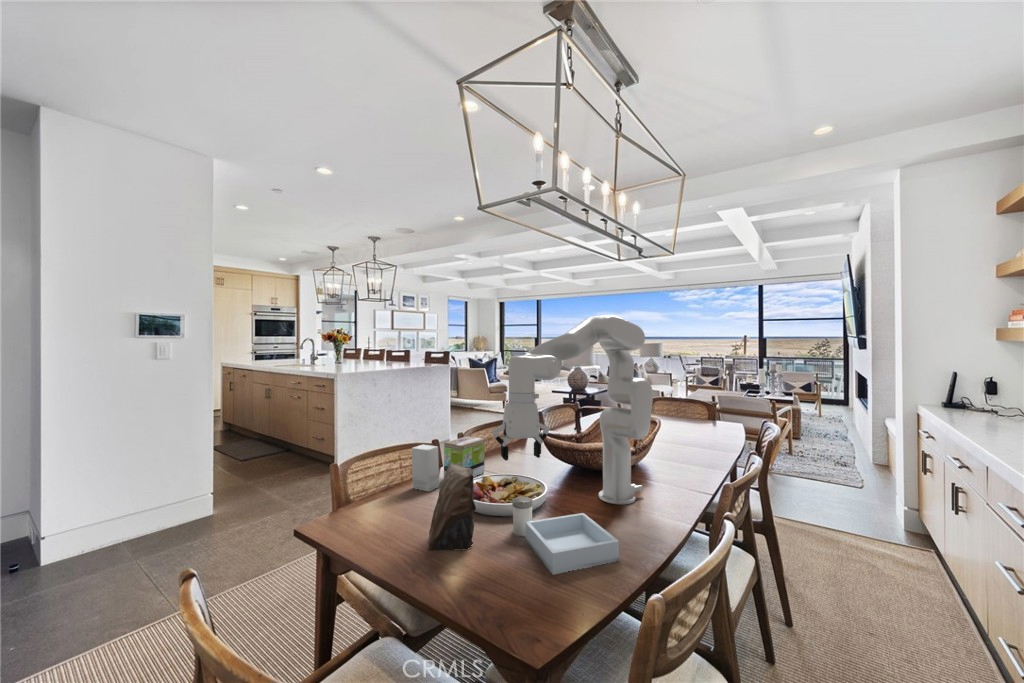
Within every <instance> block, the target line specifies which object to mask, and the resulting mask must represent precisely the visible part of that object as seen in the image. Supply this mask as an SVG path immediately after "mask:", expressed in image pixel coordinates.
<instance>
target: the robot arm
mask: <svg viewBox="0 0 1024 683" xmlns="http://www.w3.org/2000/svg"><path fill="white" fill-rule="evenodd" d="M645 342H646V335H645V332H644V330H643V329H642V328H641V327H640V326H639V325H638V324H636V323H633V322H631V321H629V320H626V319H624V318H623V317H620V316H617V315H614V314H605V315H593V316H589V317H587V318H586V319H583V321H581V322H580V323H578V324H576V325H575V326H574V327H573V328H571V329H570V330H568V331H567V332H565V333H564V334H561V335H559V336H556V337H554V338H552V339H549V340H547V341H545V342H542V343H540V344H538V345H536V346H535V347H533V348H532V349H530V350H529V351H527V352H526V353H525V354H524V355H511V356H510V358H509V359H508V402H505V405H504V410H503V417H502V424H500V425H498V426H497V427H496V428H494V429H492V431H491V432H492V435H493V437H494V439H495V441H497V442H498V444H500V456H501V458H502V459H503V460H504V461H508V460H509V446H508V444H509V442H511V440H523V439H534V442H533V456H535V458H538V459H539V458H541V454H542V444H543V442H544V440H545V439H546V438H547V436H548V434H549V432H550V431H551V429H550V427H549V426H547V425H546V424H544V423H542V422H540V416H539V409H538V408H539V407H538V404H537V402H536V400H537V399H539V398H540V395H539V393H536V385H535V382H536V380H541V381H552V380H554V379H556V378H557V377H558V376H559V375H560V374H561V371H562V365H561V362H562V361H567V360H571V359H575V358H579V357H581V355H583V354H584V353H585V352H587V351H588V350H589V349H591V348H593V346H595V345H596V344H597V343H599V345H600V346H601V348H602V350H603V351H604V352H605V353H606V355H607V358H608V362H609V369H608V378H607V379H608V380H607V390H606V392H607V393H606V394H607V395H606V396H607V398H608V400H609V401H610V402H613V403H615V404H621V405H625V406H626V405H627V406H630V408H626V407H618V406H610V407H609V406H608V407H606V408H604V409H603V410H602V411H601V413H600V414H599V427H600V432H601V438H602V490H600V491H599V492H598V498H599V499H600V500H601V501H603V502H604V503H605V502H606V503H608V504H612V505H629V504H632V503H633V504H634V502H636V499H637V497H636V494H635V493H636V492H642V491H644V487H643V485H642V484H639V485H638V484H637V485H636V484H635V483H632V450H631V449H632V448H631V444H630V441H629V439H632V440H643V439H645V438H646V437H647V436H648V434H649V432H650V428H651V420H652V411H653V403H654V402H653V401H654V399H653V398H654V394H653V393H654V392H653V391H654V390H653V387H652V385H651V382H650V381H648V380H647V379H645V378H642V377H641V378H640V377H635V376H634V374H635V361H634V358H633V356H632V355H631V353H630V351H631V352H632V351H633V352H634V351H638V350H640V349H641V348H642V347H643V346H644V344H645ZM540 429H542V432H541V431H540ZM501 432H502V435H503V436H502V437H501V436H500V433H501ZM540 432H541V433H540Z"/></svg>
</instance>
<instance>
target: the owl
mask: <svg viewBox="0 0 1024 683" xmlns="http://www.w3.org/2000/svg"><path fill="white" fill-rule="evenodd" d="M473 479H474V477H473V470H472V469H471V468H465V467H460V466H457V465H456V464H454V463H449V466H448V469H447V471H446V474H445V477H444V476H443V479H442V482H441V485H440V487H439V492H438V497H437V500H436V504H435V507H434V510H433V514H432V517H431V518H432V519H431V523H430V529H429V531H428V541H427V542H428V549H427V551H428V552H429V551H456V550H455V549H462V550H461V551H464V550H463V549H467V550H469V549H468V548H470V547H472V546H471V545H472V544H473V545H474V541H473V542H472V540H473V537H474V536H473V535H474V530H475V520H474V518H475V517H474V515H475V510H476V506H475V503H474V498H473V486H474V485H473ZM472 548H473V547H472Z"/></svg>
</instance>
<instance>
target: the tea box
mask: <svg viewBox="0 0 1024 683" xmlns="http://www.w3.org/2000/svg"><path fill="white" fill-rule="evenodd" d="M485 446H486V443H485V438H482V437H474V436H469V435H467V436H463V437H460V438H457V439H453V440H448V441H445V442H444V447H443V450H444V451H443V478H444V477H445V474H446V471H447V469H448V466H449V463H454V464H456V465H457V466H460V467H465V468H471V469H472V470H473V478H476V477H478V476H480V475H479V474H481V475H482V473H483V474H484V473H485V452H486V451H485ZM477 475H478V476H477Z"/></svg>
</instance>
